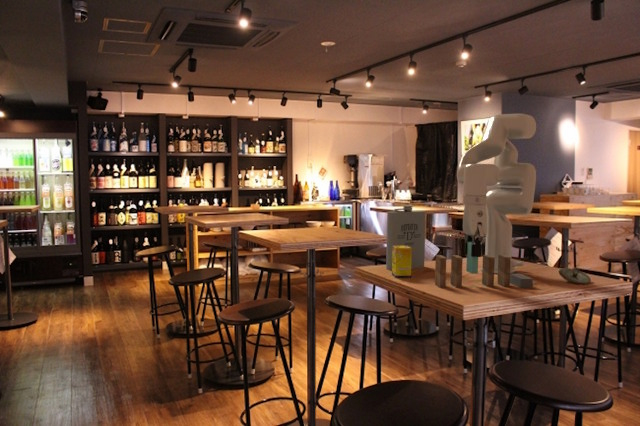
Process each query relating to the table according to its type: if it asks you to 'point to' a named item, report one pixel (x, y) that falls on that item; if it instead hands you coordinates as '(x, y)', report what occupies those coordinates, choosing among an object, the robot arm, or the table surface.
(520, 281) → the block
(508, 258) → the tile
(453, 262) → the tile
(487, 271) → the tile
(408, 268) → the supplement box
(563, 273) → the lid
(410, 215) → the flask
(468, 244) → the tile
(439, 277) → the tile
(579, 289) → the table surface
